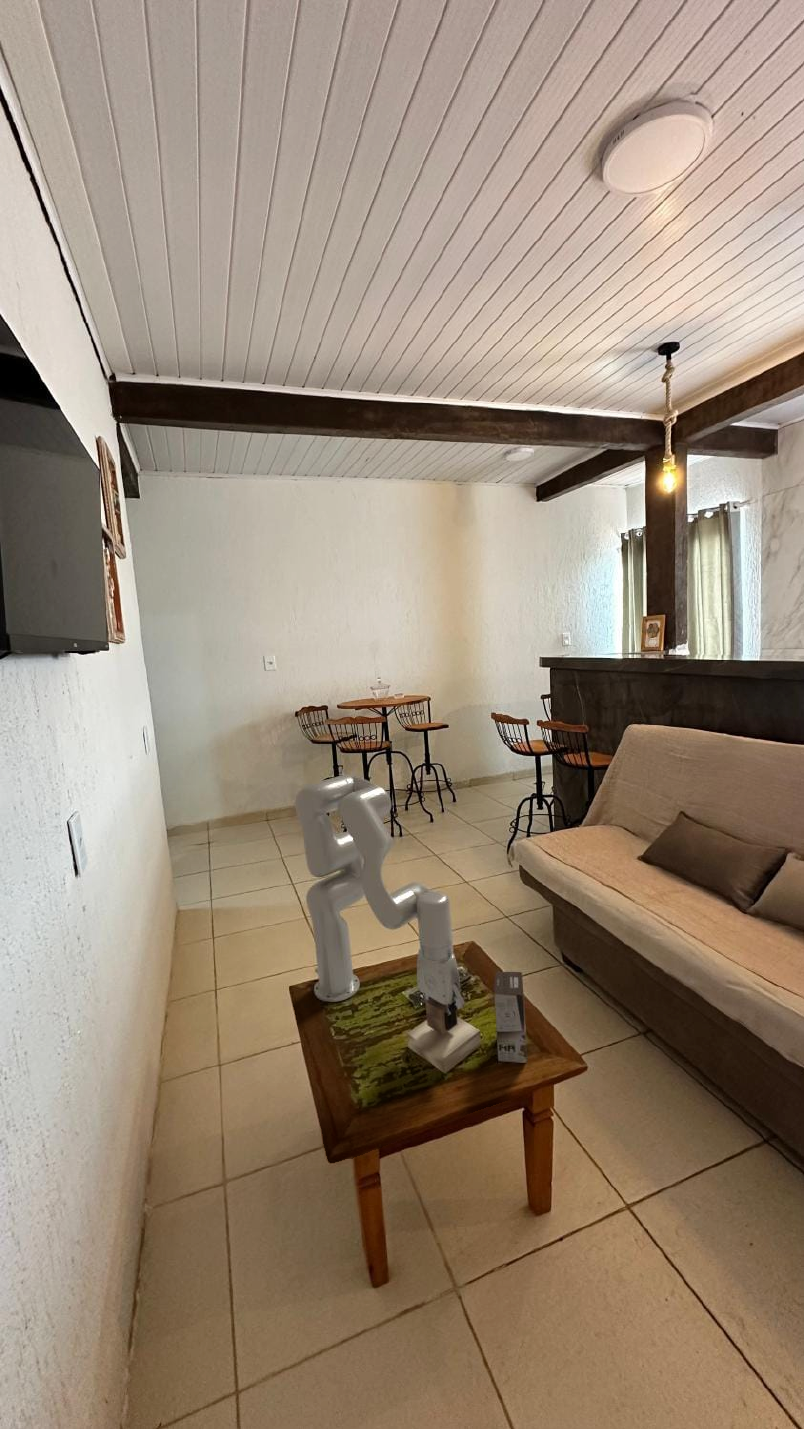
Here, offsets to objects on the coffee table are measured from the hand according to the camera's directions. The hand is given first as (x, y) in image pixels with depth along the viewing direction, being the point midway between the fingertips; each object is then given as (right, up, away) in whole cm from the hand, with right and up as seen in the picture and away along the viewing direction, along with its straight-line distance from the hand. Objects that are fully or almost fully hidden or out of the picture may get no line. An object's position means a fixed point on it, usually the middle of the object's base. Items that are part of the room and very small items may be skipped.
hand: (442, 1020), depth 129 cm
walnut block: (0, -1, 0) cm, 1 cm away
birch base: (+1, -7, +1) cm, 7 cm away
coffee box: (+16, -6, -2) cm, 17 cm away
